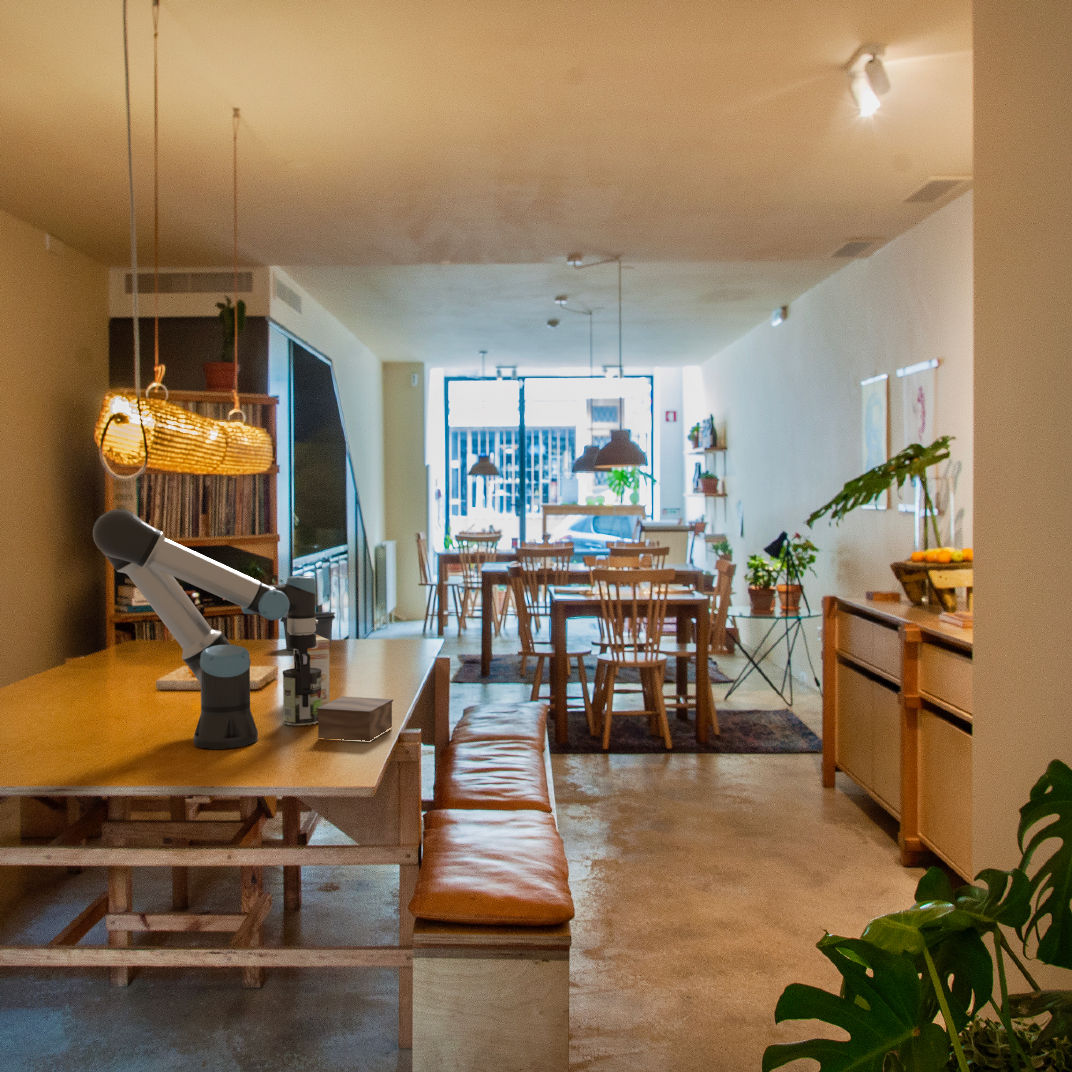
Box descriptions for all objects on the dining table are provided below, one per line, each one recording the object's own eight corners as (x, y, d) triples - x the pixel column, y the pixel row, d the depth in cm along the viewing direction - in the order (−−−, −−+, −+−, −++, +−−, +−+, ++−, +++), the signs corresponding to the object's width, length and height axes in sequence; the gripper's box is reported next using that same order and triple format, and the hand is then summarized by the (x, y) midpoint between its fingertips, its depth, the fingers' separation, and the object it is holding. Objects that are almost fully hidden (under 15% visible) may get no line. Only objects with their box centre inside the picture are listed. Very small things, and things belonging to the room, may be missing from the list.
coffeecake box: (330, 705, 273) (330, 639, 272) (306, 707, 269) (306, 641, 269) (316, 696, 286) (315, 633, 285) (293, 698, 282) (292, 634, 282)
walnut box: (370, 743, 229) (369, 711, 229) (316, 739, 233) (316, 708, 233) (393, 729, 244) (393, 699, 243) (342, 726, 247) (342, 696, 247)
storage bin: (278, 651, 370) (278, 616, 370) (285, 645, 386) (285, 611, 385) (332, 651, 372) (332, 615, 372) (337, 645, 388) (337, 611, 387)
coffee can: (328, 718, 256) (327, 667, 256) (311, 727, 246) (311, 674, 245) (293, 716, 258) (293, 666, 258) (276, 725, 248) (275, 673, 247)
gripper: (321, 638, 242) (322, 722, 243) (310, 627, 263) (311, 704, 264) (292, 639, 239) (292, 724, 240) (283, 628, 260) (284, 706, 261)
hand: (302, 714), depth 252 cm, fingers closed on coffee can, 10 cm apart
